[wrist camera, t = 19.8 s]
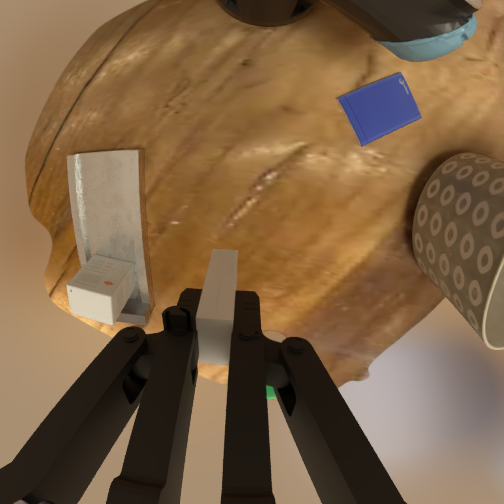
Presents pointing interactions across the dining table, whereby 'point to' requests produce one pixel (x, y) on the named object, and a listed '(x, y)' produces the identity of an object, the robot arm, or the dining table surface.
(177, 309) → the robot arm
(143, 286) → the tray
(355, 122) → the hard drive
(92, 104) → the dining table surface
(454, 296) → the planter
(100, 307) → the small box
